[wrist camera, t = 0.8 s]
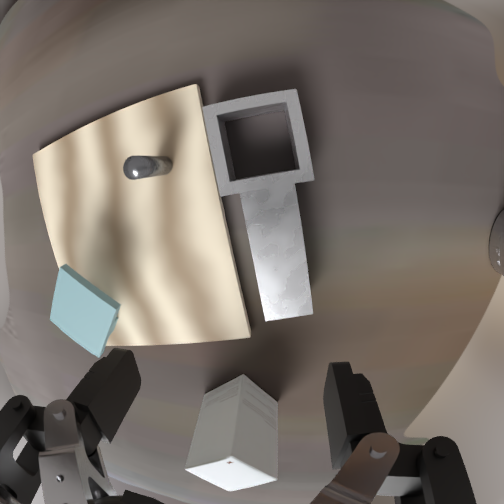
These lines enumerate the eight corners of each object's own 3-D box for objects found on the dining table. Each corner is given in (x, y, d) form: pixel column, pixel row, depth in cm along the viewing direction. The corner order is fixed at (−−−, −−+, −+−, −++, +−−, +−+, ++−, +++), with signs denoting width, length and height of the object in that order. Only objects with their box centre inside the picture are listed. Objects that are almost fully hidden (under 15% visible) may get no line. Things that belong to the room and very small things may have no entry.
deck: (199, 86, 23) (196, 83, 22) (251, 331, 31) (250, 337, 29) (38, 154, 26) (32, 154, 25) (95, 340, 33) (91, 345, 32)
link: (212, 114, 24) (202, 106, 20) (292, 99, 23) (296, 88, 19) (251, 303, 29) (248, 323, 26) (323, 292, 29) (330, 310, 25)
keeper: (99, 244, 29) (59, 267, 22) (147, 277, 29) (116, 309, 22) (81, 299, 31) (48, 327, 24) (124, 330, 32) (96, 365, 25)
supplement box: (202, 393, 34) (181, 468, 22) (244, 371, 33) (232, 456, 21) (238, 420, 36) (228, 492, 24) (279, 402, 34) (279, 481, 22)
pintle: (175, 154, 25) (141, 152, 18) (178, 172, 26) (146, 176, 19) (158, 159, 26) (121, 159, 18) (162, 176, 26) (125, 182, 19)
